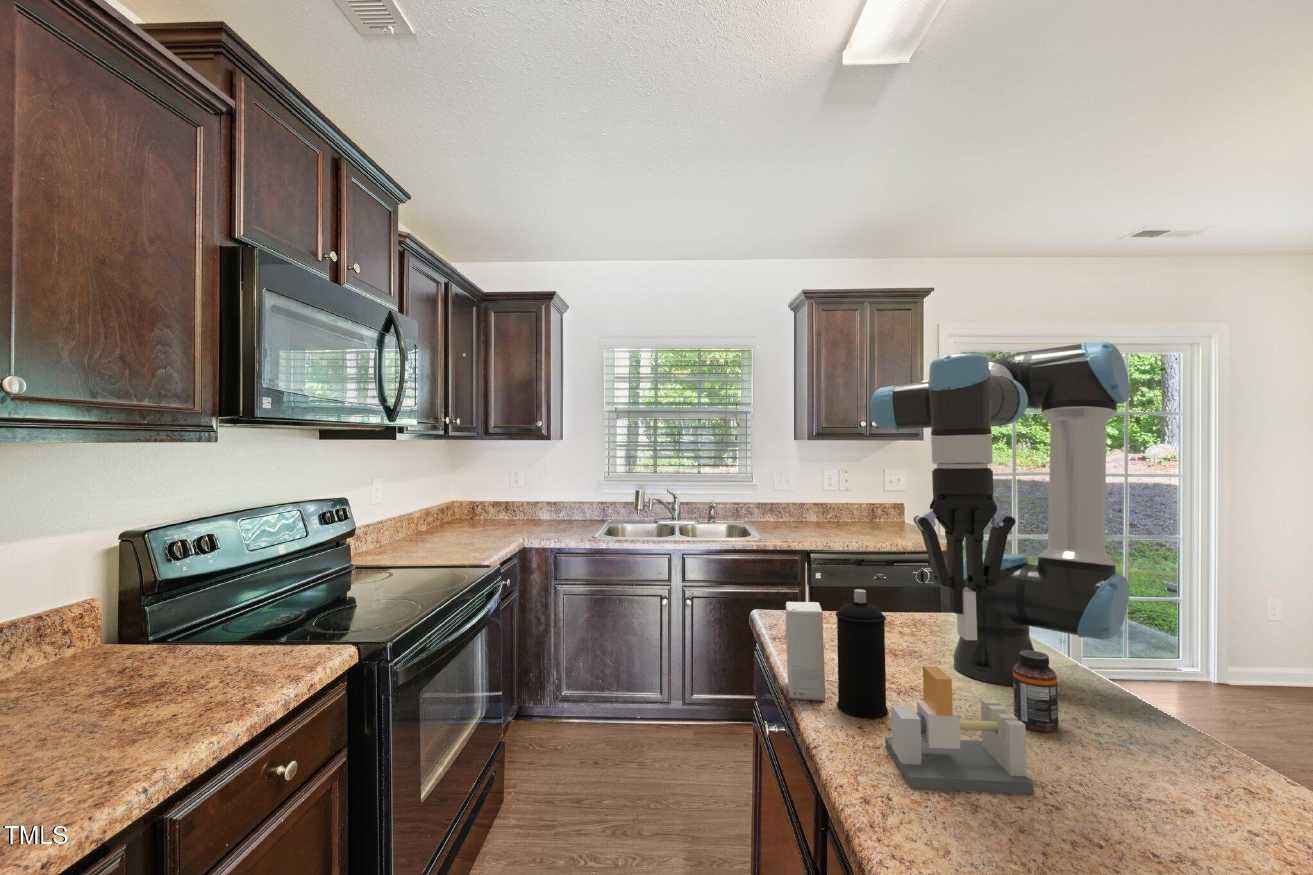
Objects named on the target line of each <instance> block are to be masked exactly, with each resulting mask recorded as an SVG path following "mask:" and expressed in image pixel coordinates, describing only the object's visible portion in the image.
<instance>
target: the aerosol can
mask: <svg viewBox="0 0 1313 875" xmlns="http://www.w3.org/2000/svg"><path fill="white" fill-rule="evenodd" d="M853 599H854V600H853V601H851V602H849V603H846V604H844V605H842V606H841V607H840V608H839V609H838V610H837V611H836V612H835V617H836V625H837V626H836V628H837V629H836V630H837V631H836V632H837V633H836V634H837V642H836V643H837V692H838V693H837V694H838V697H837V698H838V701H837V703H836V706H837V708H838V710H839V711H840V712H842V713H844V714H846V715H848V716H851V717H854V718H859V719H867V720H872V719H873V720H875V719H881V718H884V717H885V716H886V715H887V714H889V713H888V712H889V710H888V707H887V681H886V680H887V679H886V676H887V675H886V671H887V670H886V634H885V633H886V630H885V628H886V627H885V623H886V622H885V621H886V620H887V617H886V615H885V614H884V613H883V612H882V610H880V609H879V608H878V607H876V606H875V605H873V604H869V603H868V602H867V590H865V589H860V588H858V589H857V588H856V589H854V590H853Z"/></svg>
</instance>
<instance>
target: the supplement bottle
mask: <svg viewBox="0 0 1313 875" xmlns="http://www.w3.org/2000/svg"><path fill="white" fill-rule="evenodd" d="M1019 660H1020V661H1019V662H1018V663H1017V664H1016V665H1015V666H1014V667H1013V685H1012V686H1013V707H1014V708H1013V712H1014V713H1013V715H1014V716H1015V717H1017V719H1018V721H1021V722H1022V723H1024V724H1025V725H1026V730H1029V731H1034V732H1039V733H1045V734H1047V733H1053V732H1055V731H1057V730H1058V729H1059V698H1058V677H1057V673H1056V671H1055V670H1054V669H1052V668H1051V667H1050V666H1049V665H1050V658H1049V655H1048V654H1046V653H1045V652H1041V651H1036V650H1035V651H1032V650H1023V651H1020V652H1019Z"/></svg>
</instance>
